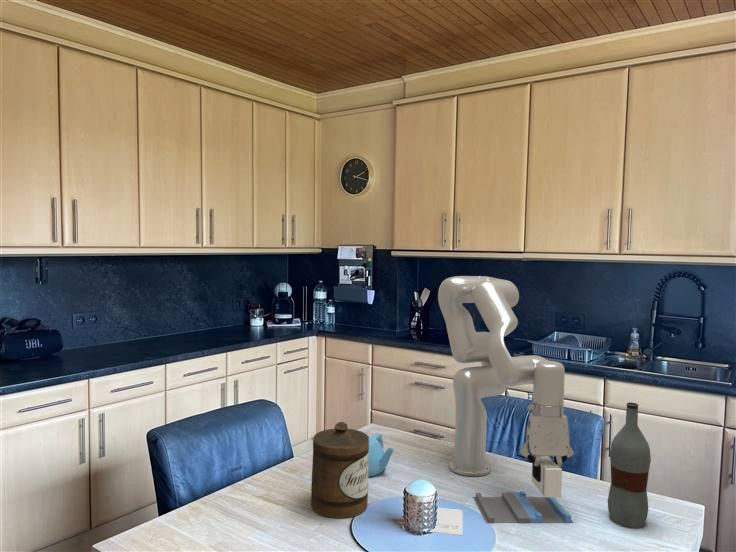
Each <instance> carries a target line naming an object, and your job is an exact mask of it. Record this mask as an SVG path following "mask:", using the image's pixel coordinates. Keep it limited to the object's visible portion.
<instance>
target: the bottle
mask: <svg viewBox="0 0 736 552" xmlns="http://www.w3.org/2000/svg"><path fill="white" fill-rule="evenodd" d="M638 420H639V403H636V402H630V401H629V402H626V414H625V424H624V425H623V426H622V428H621V429H620V430H619V431H618V432H617V434H616V435H615V436H614V437H613V439H612V441H611V444H610V445H611V446H610V448H609V449H610V450H609V457H610V459H609V460H610V461H609V462H610V481H611V482H610V486H609V491H608V497H607V509H608V510H607V511H608V515H609V519H610V520H611V522H613V523H615V524H616V525H619V526H621V527H625V528H630V529H640V528H643V527H645V524H646V521H647V520H648V514H649V501H648V493H647V492H648V491H647V490H648V489H647V488H648V481H649V475H650V473H649V472H650V469H651V462H652V457H651V456H652V455H651V449H650V445H649V443H648V441H647V439H646V437H645V436H644V434H643V432H642V431H641V429H640V427H639V426H638V423H639V421H638Z"/></svg>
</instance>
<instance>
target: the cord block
mask: <svg viewBox="0 0 736 552" xmlns="http://www.w3.org/2000/svg"><path fill="white" fill-rule="evenodd" d="M539 466H540V467H541V480H540V482H537V480H536V479H535V478H534V477H533V475H532V474H531V482H532V483H533V485H535V487H536V488H537V489H538V491H539V492H540V493H541V494H542V496H543V497H554V498H562V482H563V481H562V480H563V479H562V478H563V469H562V468H561V467H559V466H558V465H557V464H556V463H555V462H554V459H552V458H551V457H550V456H541V458H540V463H539ZM532 469H533V463H532V462H531V470H532Z"/></svg>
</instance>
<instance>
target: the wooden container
mask: <svg viewBox="0 0 736 552" xmlns="http://www.w3.org/2000/svg"><path fill="white" fill-rule="evenodd" d="M348 426H349V425H348V424H347V423H346V422H343V421H339V422H337V423H335V425H334V428H329V429H323V430H321V431H319V432H317V433H315V434H314V435H313V442H312V467H311V490H310V491H311V494H310V497H311V499H310V505H311V508H312V510H313V511H314V512H315V514H318V515H320V516H322V517H324V518H325V517H326V518H331V519H349V518H353V517H356V516H358V515H361V514H363V513H364V512H365V511H366V510H367V508H368V500H369V499H368V497H369V496H368V495H369V477H368V458H369V453H368V452H369V437H370V436H369V437H368V435H369V434H368V433H366V432H363V431H360V430H357V429H354V428H353V429H352V428H348ZM367 434H368V435H367Z"/></svg>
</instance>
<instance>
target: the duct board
mask: <svg viewBox="0 0 736 552" xmlns="http://www.w3.org/2000/svg"><path fill="white" fill-rule="evenodd" d="M472 499H473V500H474V502H475V504H476V506H477V508H478V511H479V512H480V514H481V516H482V518H483V520H484V522H485V524H574V523H575V522H574V521H573V519H572V516H571V514H570V513H569V512H568V511H565V509H564V508H563V507H562V505H560V503H559V502H558V501H557V500H556V499H555V497H545V496H534V497H533V496H527V493H526V492H525V491H524V490H519V492H502V493H501V496H482V494H481V492H475V496H472Z"/></svg>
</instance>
